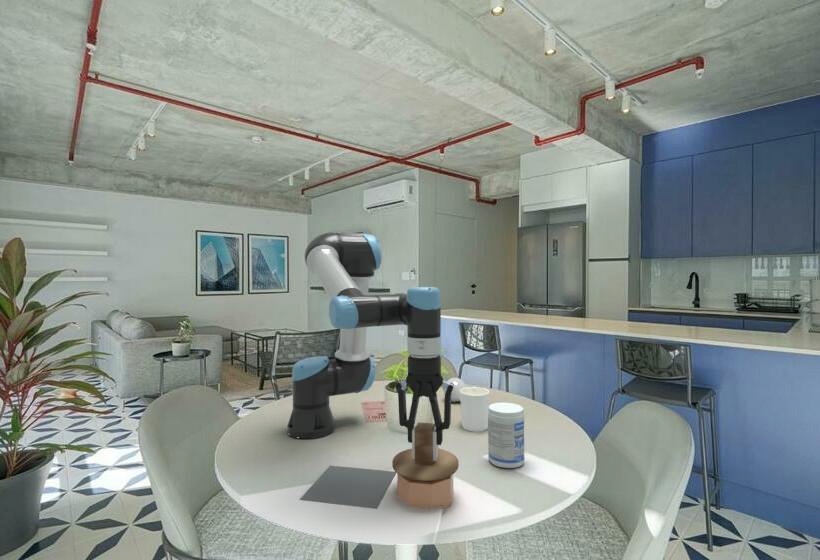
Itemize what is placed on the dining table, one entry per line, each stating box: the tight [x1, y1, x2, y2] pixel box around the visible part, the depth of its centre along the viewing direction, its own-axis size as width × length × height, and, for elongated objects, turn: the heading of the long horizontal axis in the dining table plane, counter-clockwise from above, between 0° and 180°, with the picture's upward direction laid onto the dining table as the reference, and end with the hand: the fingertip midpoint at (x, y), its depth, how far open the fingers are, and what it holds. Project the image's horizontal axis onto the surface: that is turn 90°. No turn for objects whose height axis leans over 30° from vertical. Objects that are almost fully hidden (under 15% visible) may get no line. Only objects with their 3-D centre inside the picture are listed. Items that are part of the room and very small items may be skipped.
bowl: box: [396, 473, 454, 510], centre depth 96 cm, size 12×12×6 cm
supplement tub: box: [487, 402, 525, 469], centre depth 114 cm, size 10×10×15 cm
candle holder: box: [459, 386, 491, 433], centre depth 139 cm, size 10×10×12 cm
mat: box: [299, 465, 397, 510], centre depth 100 cm, size 18×17×1 cm
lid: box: [391, 422, 459, 481], centre depth 96 cm, size 15×15×9 cm
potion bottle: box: [443, 377, 483, 403], centre depth 167 cm, size 9×10×15 cm
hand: (425, 457), depth 96 cm, fingers closed on lid, 4 cm apart
